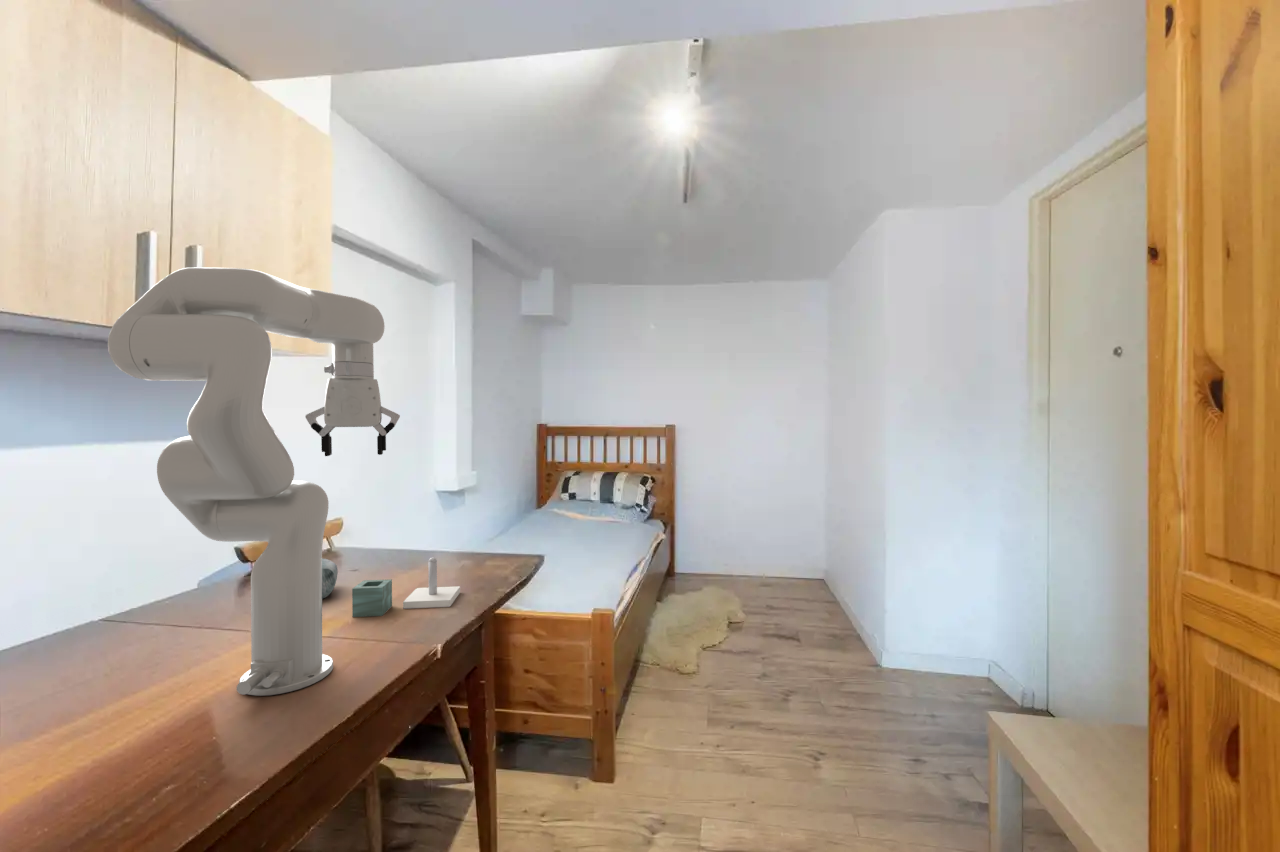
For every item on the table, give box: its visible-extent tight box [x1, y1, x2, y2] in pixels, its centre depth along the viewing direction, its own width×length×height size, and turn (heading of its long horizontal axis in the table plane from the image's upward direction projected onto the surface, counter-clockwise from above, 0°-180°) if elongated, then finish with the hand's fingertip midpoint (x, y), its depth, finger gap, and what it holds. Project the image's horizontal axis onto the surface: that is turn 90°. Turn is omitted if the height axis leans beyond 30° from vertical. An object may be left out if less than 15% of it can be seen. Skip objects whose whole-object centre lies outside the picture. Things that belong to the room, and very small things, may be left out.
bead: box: [351, 578, 393, 618], centre depth 116 cm, size 6×6×6 cm
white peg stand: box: [402, 556, 461, 610], centre depth 123 cm, size 10×10×10 cm
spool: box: [322, 557, 339, 600], centre depth 127 cm, size 14×10×10 cm
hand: (354, 454), depth 111 cm, fingers open, 9 cm apart
